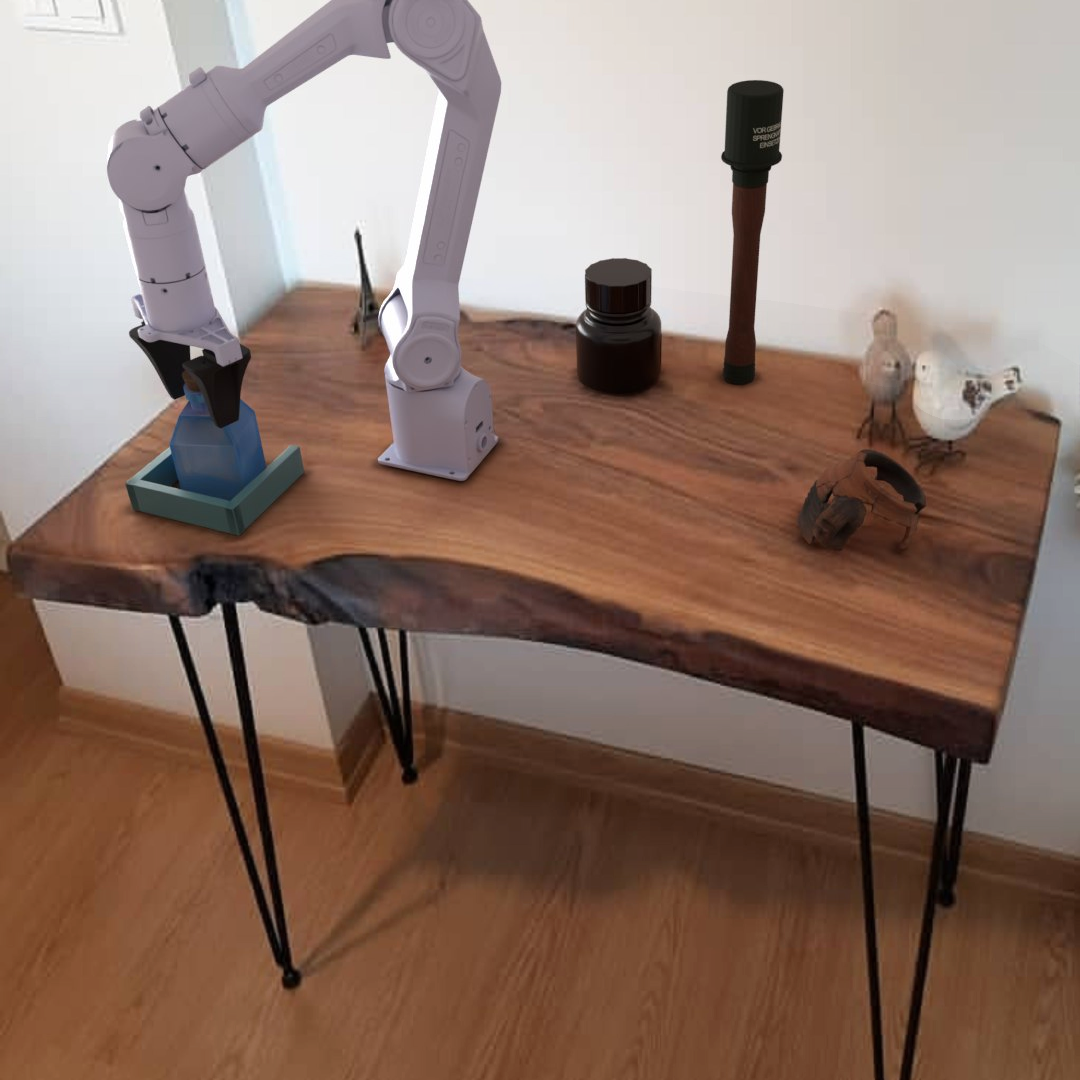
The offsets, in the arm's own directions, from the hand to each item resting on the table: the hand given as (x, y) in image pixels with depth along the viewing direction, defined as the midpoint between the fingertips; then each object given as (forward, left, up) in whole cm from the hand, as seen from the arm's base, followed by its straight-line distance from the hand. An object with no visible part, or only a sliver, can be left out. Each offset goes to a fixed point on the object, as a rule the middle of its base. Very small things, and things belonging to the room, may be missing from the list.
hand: (204, 408), depth 112 cm
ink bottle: (-28, -32, -9) cm, 44 cm away
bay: (0, 0, -9) cm, 9 cm away
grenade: (-40, -36, -9) cm, 55 cm away
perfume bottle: (0, -1, -9) cm, 9 cm away
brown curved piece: (-57, -12, -9) cm, 59 cm away
